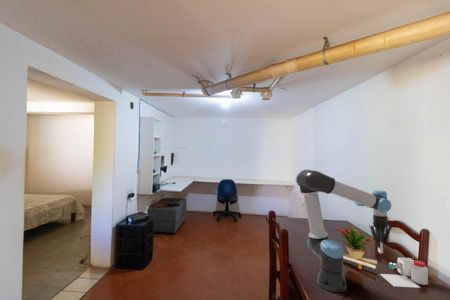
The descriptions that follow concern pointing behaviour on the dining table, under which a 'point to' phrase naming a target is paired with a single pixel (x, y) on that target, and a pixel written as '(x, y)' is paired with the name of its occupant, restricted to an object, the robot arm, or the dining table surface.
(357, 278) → the dining table surface
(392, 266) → the plunger
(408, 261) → the housing
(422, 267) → the pill bottle
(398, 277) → the mat
